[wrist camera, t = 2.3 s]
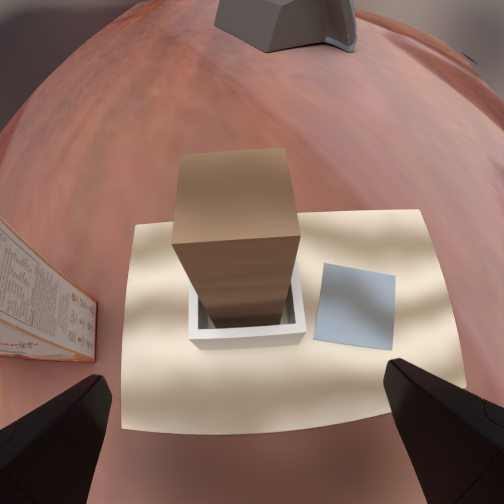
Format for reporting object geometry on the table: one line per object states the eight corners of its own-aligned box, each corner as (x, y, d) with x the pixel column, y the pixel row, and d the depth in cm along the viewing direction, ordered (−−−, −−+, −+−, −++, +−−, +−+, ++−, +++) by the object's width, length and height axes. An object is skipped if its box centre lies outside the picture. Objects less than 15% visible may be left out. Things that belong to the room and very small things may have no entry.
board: (462, 387, 19) (467, 386, 18) (125, 427, 18) (120, 428, 18) (417, 212, 27) (420, 208, 27) (137, 228, 27) (135, 223, 26)
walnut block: (278, 328, 22) (300, 235, 10) (218, 332, 22) (171, 244, 10) (273, 273, 24) (284, 148, 12) (216, 277, 24) (181, 155, 12)
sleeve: (298, 344, 21) (306, 331, 17) (200, 350, 21) (188, 339, 17) (288, 257, 24) (292, 231, 21) (200, 263, 24) (190, 237, 21)
